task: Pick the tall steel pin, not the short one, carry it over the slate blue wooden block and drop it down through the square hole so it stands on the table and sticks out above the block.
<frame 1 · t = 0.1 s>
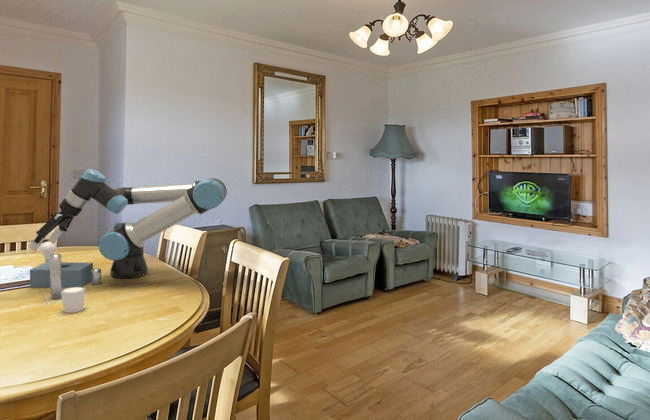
hand: (41, 245, 162), 15 cm above the table, tool tilted 35°, fingers open, 13 cm apart
lightbulb: (48, 265, 189), on the table
tall pin: (56, 297, 148), on the table
shot glass: (73, 310, 138), on the table
hole block: (63, 282, 165), on the table
short pin: (96, 283, 165), on the table
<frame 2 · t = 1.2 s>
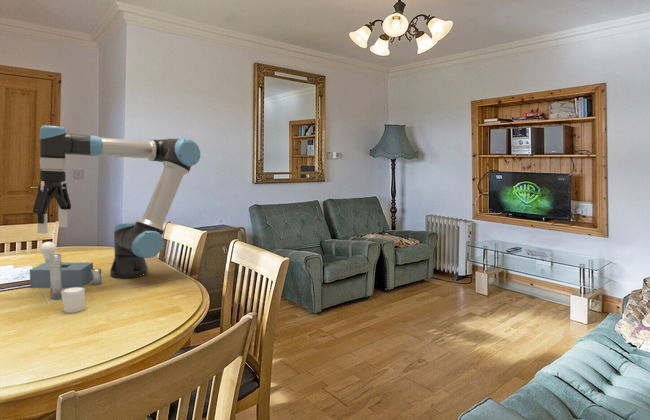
hand: (53, 229, 146), 25 cm above the table, tool pointing down, fingers open, 13 cm apart
nothing on the table moved.
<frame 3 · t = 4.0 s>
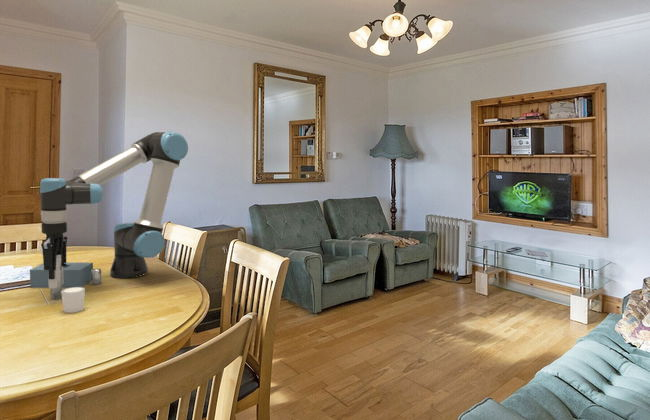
hand: (56, 285, 147), 5 cm above the table, tool pointing down, fingers closed on tall pin, 3 cm apart
tall pin: (56, 297, 148), on the table, touching gripper
everything else where it was.
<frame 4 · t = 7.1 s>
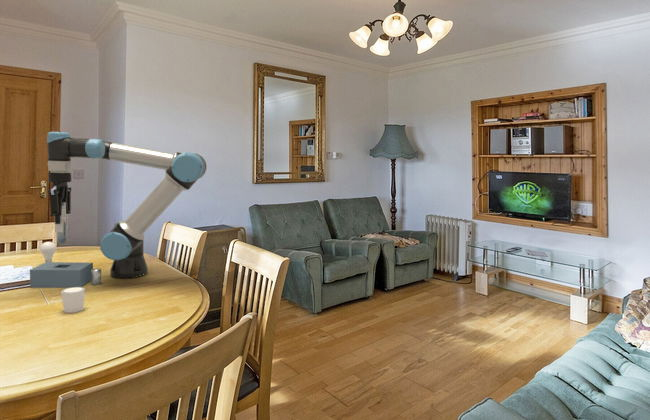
hand: (61, 230, 162), 22 cm above the table, tool pointing down, fingers closed on tall pin, 3 cm apart
tall pin: (61, 242, 162), point 17 cm above the table, touching gripper
everything else where it was.
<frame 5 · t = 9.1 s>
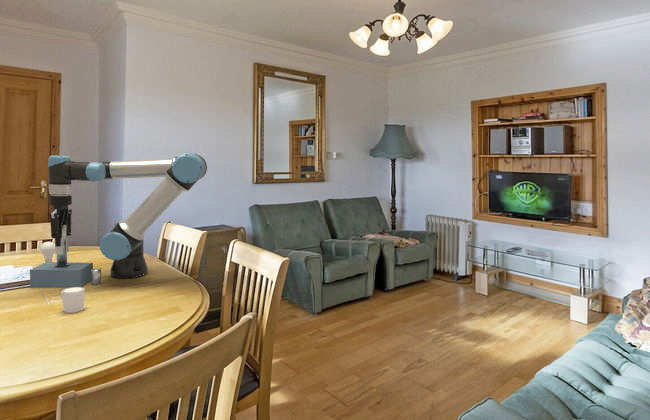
hand: (62, 252, 163), 12 cm above the table, tool pointing down, fingers closed on tall pin, 3 cm apart
tall pin: (62, 264, 164), point 8 cm above the table, touching gripper
everything else where it was.
when the fingers open (10 cm above the table, at t = 10.5 s): tall pin drops 5 cm, resting in hole block.
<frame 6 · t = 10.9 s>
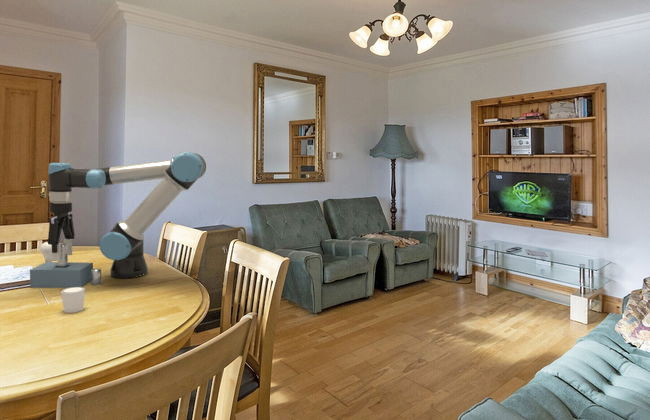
hand: (62, 257, 163), 11 cm above the table, tool pointing down, fingers open, 9 cm apart
tall pin: (62, 282, 164), resting in hole block
everything else where it was.
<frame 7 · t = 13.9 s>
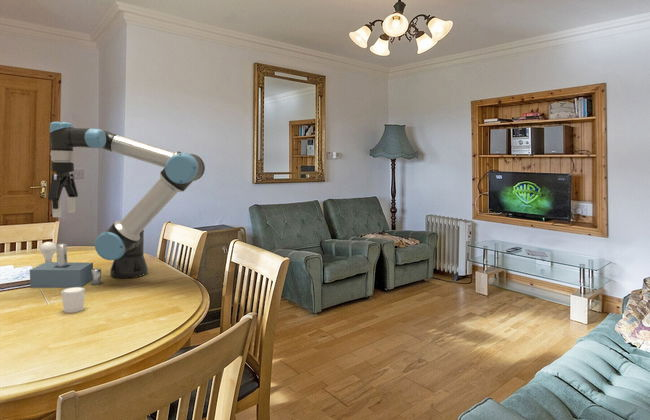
hand: (64, 214, 164), 28 cm above the table, tool pointing down, fingers open, 13 cm apart
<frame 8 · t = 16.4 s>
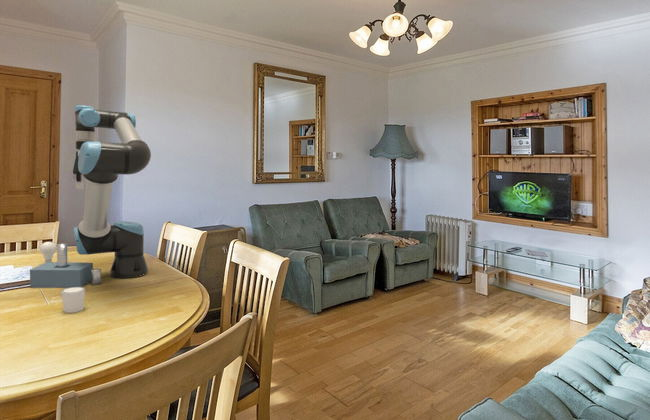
hand: (86, 188, 186), 37 cm above the table, tool pointing down, fingers open, 13 cm apart
nothing on the table moved.
at the end: tall pin 0.1 cm off-centre on the hole block, point 0.0 cm above the hole block's base; tall pin tilted 0°; short pin moved 0.0 cm from its start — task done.
